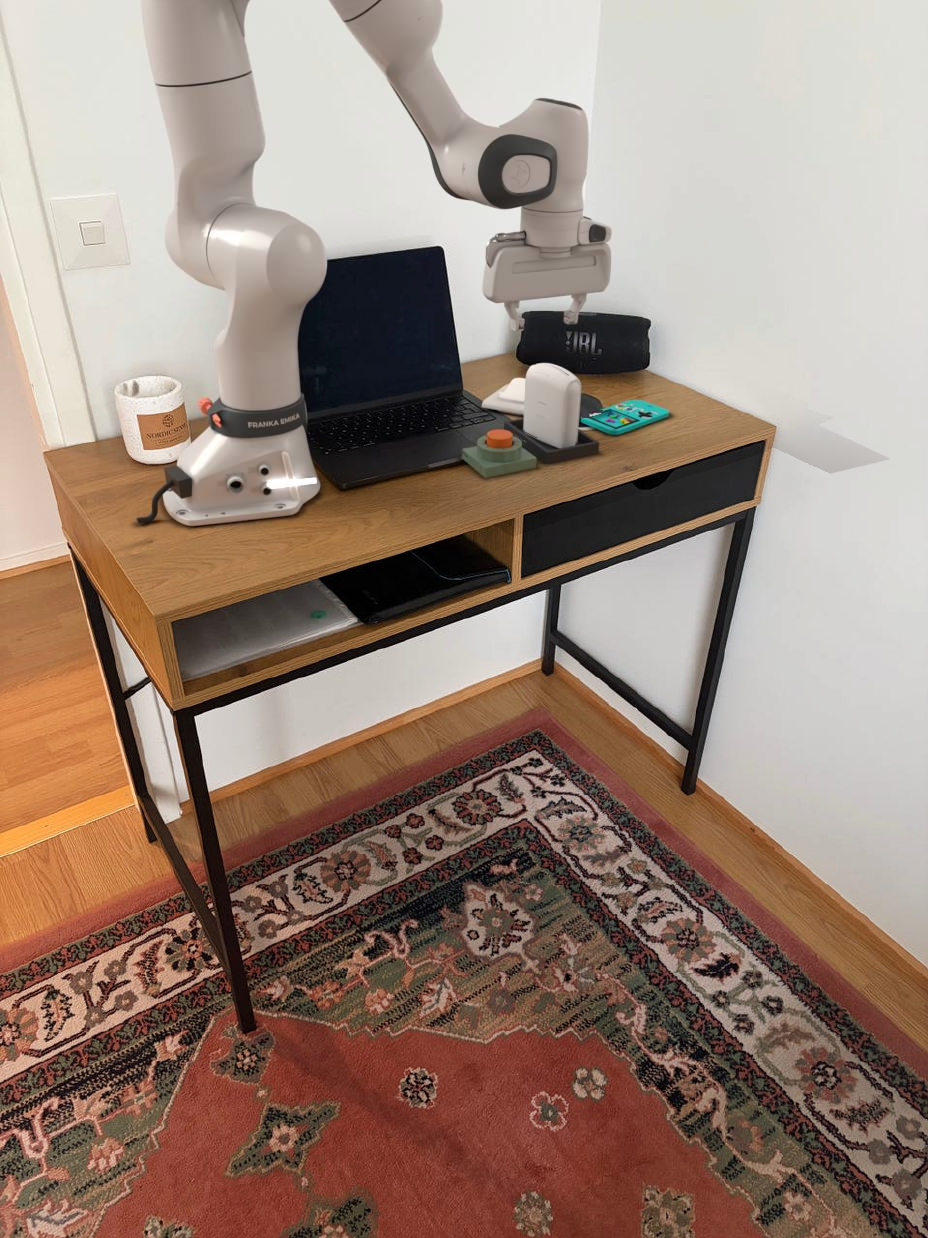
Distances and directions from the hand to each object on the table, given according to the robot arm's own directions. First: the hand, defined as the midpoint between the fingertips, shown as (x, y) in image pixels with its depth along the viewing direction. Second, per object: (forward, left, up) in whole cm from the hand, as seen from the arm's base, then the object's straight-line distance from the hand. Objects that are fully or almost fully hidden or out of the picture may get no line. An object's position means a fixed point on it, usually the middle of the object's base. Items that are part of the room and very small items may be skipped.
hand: (543, 326), depth 137 cm
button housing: (-8, -3, -20) cm, 22 cm away
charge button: (-8, -3, -16) cm, 19 cm away
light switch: (+8, +18, -20) cm, 28 cm away
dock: (+3, +1, -20) cm, 20 cm away
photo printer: (+3, +1, -19) cm, 19 cm away
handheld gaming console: (+21, +4, -20) cm, 29 cm away
